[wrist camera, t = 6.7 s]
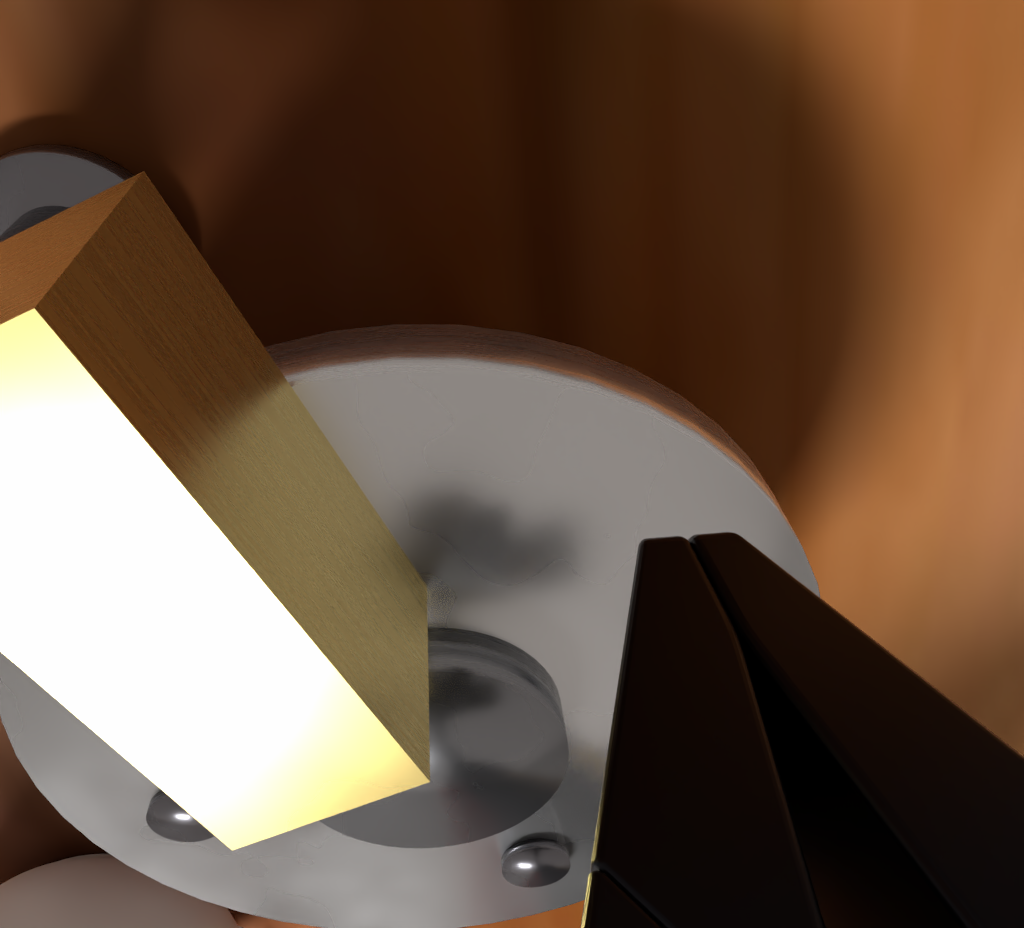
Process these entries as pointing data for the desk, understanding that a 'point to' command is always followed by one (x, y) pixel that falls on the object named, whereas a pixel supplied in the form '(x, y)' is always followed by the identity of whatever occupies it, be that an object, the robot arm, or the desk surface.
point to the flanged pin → (50, 183)
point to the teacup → (101, 899)
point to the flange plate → (501, 557)
